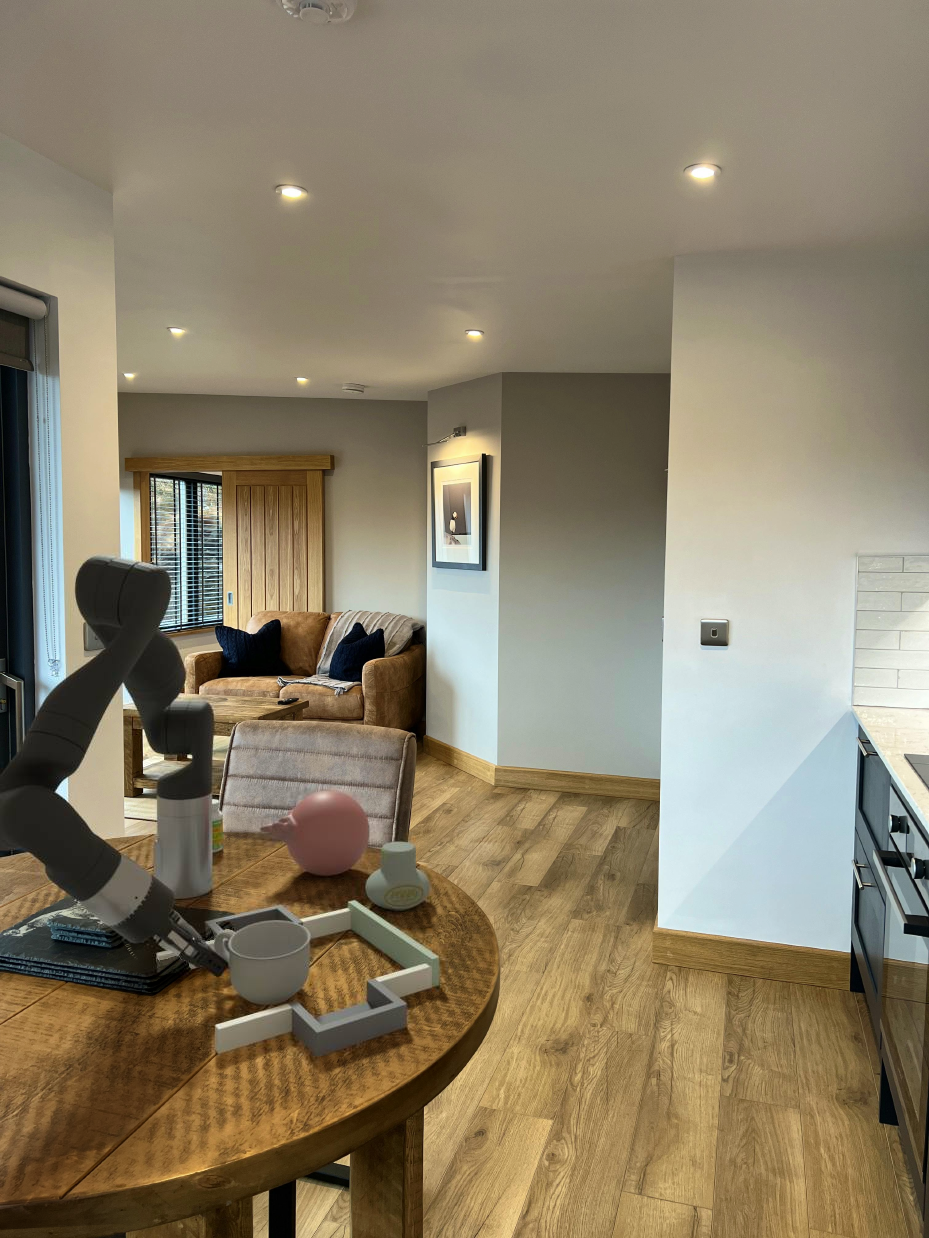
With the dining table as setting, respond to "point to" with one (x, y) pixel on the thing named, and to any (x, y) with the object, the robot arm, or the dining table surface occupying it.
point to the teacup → (267, 960)
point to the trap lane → (346, 1024)
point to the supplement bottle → (217, 827)
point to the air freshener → (398, 879)
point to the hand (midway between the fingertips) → (222, 969)
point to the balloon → (324, 832)
